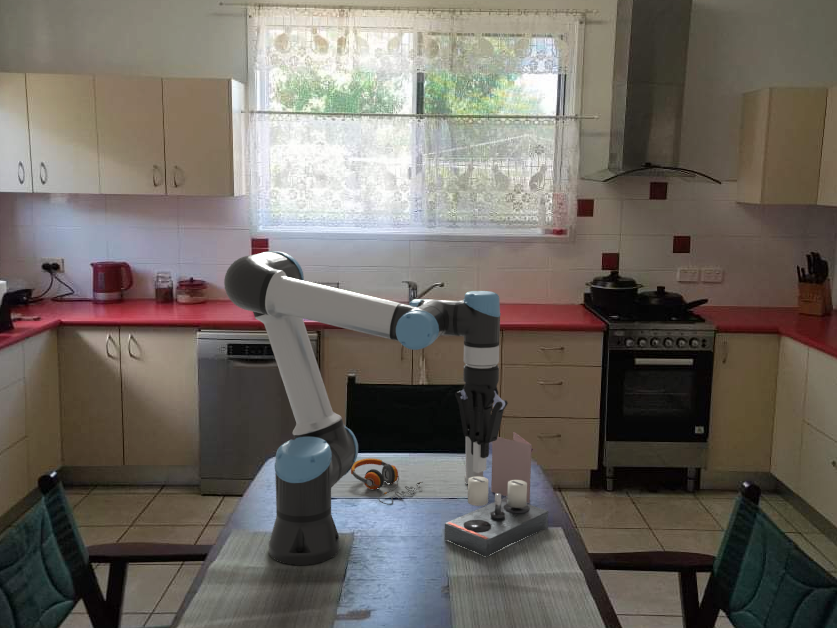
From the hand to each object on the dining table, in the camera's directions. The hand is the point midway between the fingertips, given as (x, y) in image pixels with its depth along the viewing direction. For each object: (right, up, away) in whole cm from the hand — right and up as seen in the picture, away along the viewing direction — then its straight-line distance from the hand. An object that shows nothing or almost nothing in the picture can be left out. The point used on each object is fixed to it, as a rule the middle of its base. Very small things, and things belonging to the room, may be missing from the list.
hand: (479, 470), depth 176 cm
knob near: (0, -7, +1) cm, 7 cm away
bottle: (+1, -11, +38) cm, 40 cm away
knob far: (+10, -10, +12) cm, 18 cm away
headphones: (-22, -11, +35) cm, 43 cm away
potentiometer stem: (+5, -12, +7) cm, 15 cm away
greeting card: (+10, -12, +30) cm, 34 cm away
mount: (+5, -16, +8) cm, 18 cm away
